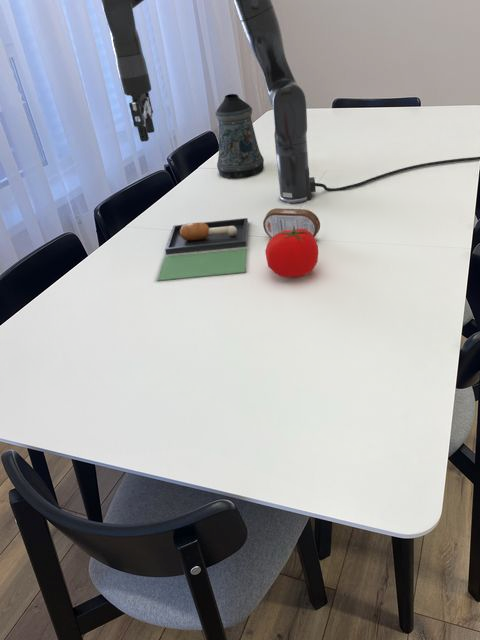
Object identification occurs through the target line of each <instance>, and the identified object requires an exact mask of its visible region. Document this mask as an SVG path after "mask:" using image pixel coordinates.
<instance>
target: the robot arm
mask: <svg viewBox="0 0 480 640" xmlns="http://www.w3.org/2000/svg"><path fill="white" fill-rule="evenodd" d="M144 1H145V0H101V5H102V10H103V13H104V16H105V20H106V23H107V26H108V30H109V33H110V38H111V44H112V48H113V52H114V55H115V62H116V63H115V64H116V69H117V73H118V77H119V80H120V85H121V89H122V93H123V95H124V96H130V97H131V101H130V102H129V103H128V104H129V105H128V106H129V109H130V114H131V119H132V123H133V126H134V128H137V132H138V136H139V140H140V141H141V143H142V142H148V141H149V139H150V137H149V134H152V133H154V132H155V127H154V123H153V122H154V121H153V114H154V110H153V107H152V102H151V97H150V92H151V90H152V85H151V80H150V75H149V71H148V67H147V62H146V57H145V55H144V53H143V48H142V43H141V39H140V35H139V32H138V30H137V27H136V21H135V20H136V19H135V15H134V10H133V9H134V8H136V7H137V6H139V5H140V4H141V3H143V2H144ZM233 4H234V7H235V10H236V13H237V15H238V18H239V21H240V24H241V27H242V30H243V32H244V35H245V37H246V39H247V42H248V44H249V47H250V48H251V50H252V52H253V54H254V57H255V59H256V61H257V62H258V64H259V67H260V69H261V72H262V75H263V79H264V82H265V86H266V89H267V93H268V97H269V102H270V105H271V107H272V110H273V123H274V145H275V146H274V147H275V154H276V155H275V156H276V164H277V176H278V187H279V199H280V201H281V202H283V203H286V204H298V203H303V202H306V201H309V200H312V195H311V194H312V193H316V192H317V190H316V189H317V188H316V187H320V188H323V190H324V191H326V192H339V191H345V190H349V189H352V188H357V187H360V186H363V185H366V184H369V183H371V182H374V181H377V180H380V179H383V178H386V177H388V176H392V175H395V174H398V173H402V172H406V171H410V170H415V169H419V168H423V167H428V166H436V165H437V166H438V165H444V164H449V163H450V164H452V163H461V162H470V161H480V156H472V157H471V156H470V157H461V158H453V159H444V160H438V161H437V160H436V161H431V162H424V163H420V164H415V165H411V166H406V167H402V168H398V169H395V170H392V171H388V172H386V173H383V174H380V175H376V176H374V177H370V178H368V179H365V180H363V181H360V182H357V183H353V184H348V185H345V186H341V187H336V188H335V187H333V188H332V187H328V186H327V185H326V184H324V183H319V182H316V179H315V177H314V176H312V177H310V166H309V154H308V153H309V152H308V140H307V139H308V138H307V137H308V135H307V132H308V113H307V112H308V111H307V99H306V95H305V92H304V90H303V89H302V88H301V86H300V85H299V84H298V83H297V80H296V78H295V77H294V75H293V72H292V70H291V67H290V66H289V63H288V60H287V57H286V53H285V46H284V42H283V36H282V35H283V34H282V31H281V26H280V22H279V19H278V16H277V13H276V10H275V8H274V4H273V1H272V0H233Z"/></svg>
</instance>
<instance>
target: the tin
mask: <svg viewBox="0 0 480 640" xmlns="http://www.w3.org/2000/svg"><path fill="white" fill-rule="evenodd" d="M262 223H263V224H262V226H263V230H264V232H265V234H266V235H267V236H268V237H269V238H270V239H271V238H272V237H273V236H274V235H276V234H278V233H280V232H282V231H284V230H290V231H293V228H294V226H295V230H296V229H305V230H307V231H309V232H311V233H312V235H313V236H314V237H315V238H316V237H317V234H318V233H319V232H320V229H321V222H320V219H319V217H318V216H317V214H316V213H314V212H313V211H311V210H309V209H305V208H281V207H280V208H271V210H269V211H268V212H267V213H266V215H265V217H264V219H263V221H262Z"/></svg>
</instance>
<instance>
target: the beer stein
mask: <svg viewBox="0 0 480 640" xmlns="http://www.w3.org/2000/svg"><path fill="white" fill-rule="evenodd" d="M252 114H253V107H252V106H251V105H250V104H248V103H247V102H246V101H244V100H243V99H242V98H240V96H239V95H238V94H236V93H229V94H226V95H224V99H223V101H222V102H221V103H220V105H219V106H218V108H217V109H216V111H215V117H216V119H217V121H218V156H217V157H218V158H217V163H216V167H217V170H218V173H219V176H220V177H221V178H223V179H226V180H240V179H241V180H242V179H247V178H251V177H256V176H257V175H259V174H261V173H262V172H263V170H264V164H265V163H264V162H265V158H264V156H263V154H262V153H261V150H260V147H259V144H258V141H257V136H256V132H255V128H254V125H253V121H252Z"/></svg>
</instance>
